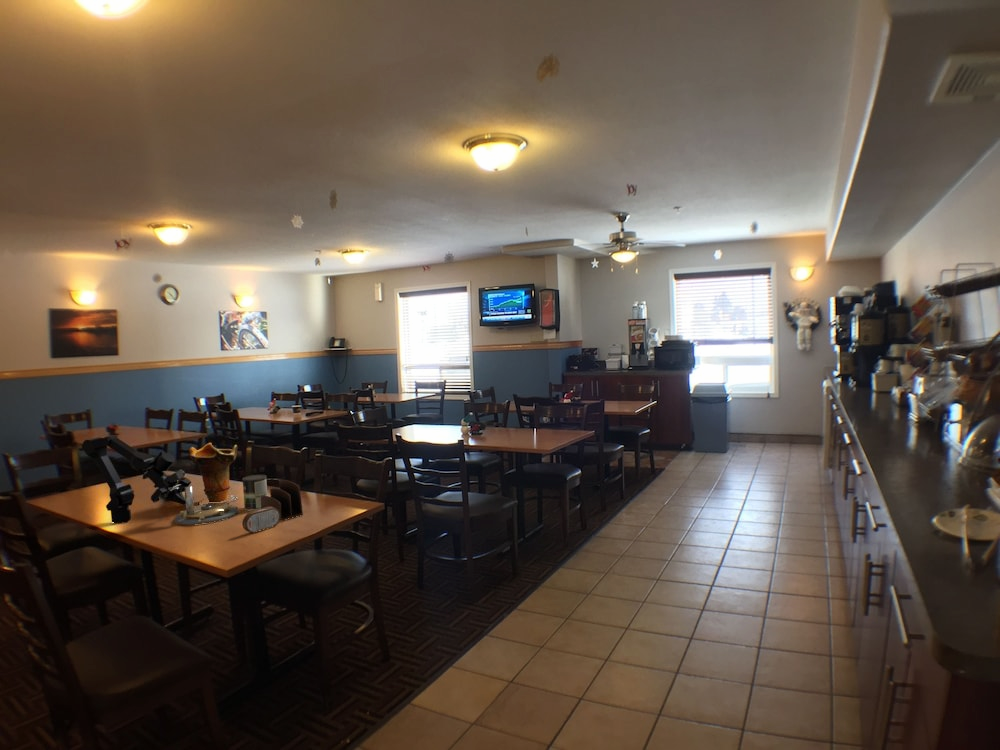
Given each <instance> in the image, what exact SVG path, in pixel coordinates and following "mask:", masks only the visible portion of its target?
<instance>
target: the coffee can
mask: <svg viewBox="0 0 1000 750" xmlns="http://www.w3.org/2000/svg"><path fill="white" fill-rule="evenodd" d="M267 481H268V480H267V475H266V474H253V475H248V476H245V477H243V478H242V490H243V492H242V493H243V505H244V510H245V511H247V510H258V509H261V496H263V495H264V496H269V495H268V485H267V483H268V482H267Z"/></svg>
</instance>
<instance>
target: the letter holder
mask: <svg viewBox="0 0 1000 750" xmlns="http://www.w3.org/2000/svg"><path fill="white" fill-rule="evenodd" d="M278 485H279V486H278V487H279V488H275V487H270V489H269V493H270V494H269V495H270V496H269V495H268V496H264V495H263V496H261V509H262V508H266V507H274V508H276V509H277V510H278V511H279V512H280V520H284V519H288V518H291V519H293V518H292V517H295V518H297V517H296V516H299V517H301V516H300V515H304V513H303V504H302V503H303V502H302V495H301V487H300V485H299V484H297V483H295V482H294V481H290V480H287V479H279V480H278ZM280 520H279V521H280ZM288 520H289V519H288ZM284 521H285V520H284Z"/></svg>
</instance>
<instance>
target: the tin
mask: <svg viewBox="0 0 1000 750" xmlns="http://www.w3.org/2000/svg"><path fill="white" fill-rule="evenodd" d="M279 523H280V512H279V511H278V510H277V509H276V508H274V507H266V508H262V509H258V510H254V511H248V512H247V513H246V514H245V515H244V517H243V519H242V527H243V529H244V530H245V532H248V533H250V534H251V533H252V532H255V533H257V532H256V531H259V530H262V531H264V530H263V529H266V530H268V529H267V528H269V529H271V528H270V527H272V526H275V527H276V526H277V525H278V524H279ZM259 532H260V531H259ZM252 534H253V533H252Z"/></svg>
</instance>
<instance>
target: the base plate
mask: <svg viewBox="0 0 1000 750" xmlns="http://www.w3.org/2000/svg"><path fill="white" fill-rule="evenodd" d="M230 505H231V504H229V506H230ZM238 513H239V507H238V506H236V505H233V509H232V510H228V511H227V512H225V513H224V514H222V515H216V516H211V517H205V519H199V518H189V519H183V516H180V513H178V514H177V515H176V516H174V523H175V524H176V523H177V524H176V525H178V524H181V525H180V526H186V525H190V526H196V525H195V524H202V523H209V522H214V521H218V522H220V521H219V520H222V519H225V520H227V519H226V518H228V519H230V518H229V517H231V518H233V517H235V516H236V515H238ZM234 515H235V516H234ZM232 516H233V517H232ZM222 521H223V520H222ZM214 523H215V522H214ZM209 524H210V523H209Z"/></svg>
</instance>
